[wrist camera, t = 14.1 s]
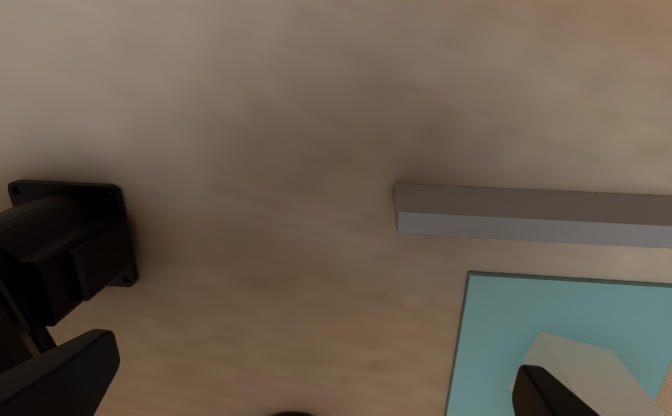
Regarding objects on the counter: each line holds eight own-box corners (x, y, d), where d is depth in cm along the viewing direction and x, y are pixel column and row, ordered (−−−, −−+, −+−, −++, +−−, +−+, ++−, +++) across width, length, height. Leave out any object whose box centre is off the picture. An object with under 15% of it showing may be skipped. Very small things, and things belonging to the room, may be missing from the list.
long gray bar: (393, 201, 21) (397, 233, 17) (394, 183, 20) (399, 212, 17) (693, 215, 20) (768, 254, 16) (701, 197, 19) (778, 231, 15)
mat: (443, 424, 26) (444, 429, 26) (468, 271, 22) (470, 275, 21) (630, 442, 25) (633, 448, 25) (696, 285, 21) (702, 289, 21)
